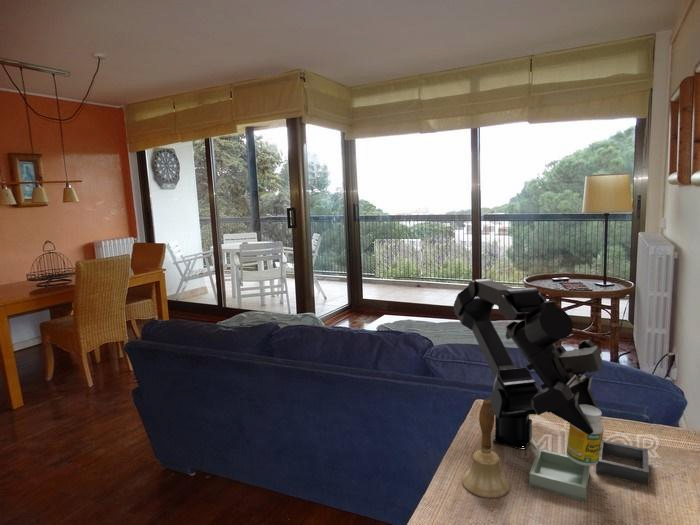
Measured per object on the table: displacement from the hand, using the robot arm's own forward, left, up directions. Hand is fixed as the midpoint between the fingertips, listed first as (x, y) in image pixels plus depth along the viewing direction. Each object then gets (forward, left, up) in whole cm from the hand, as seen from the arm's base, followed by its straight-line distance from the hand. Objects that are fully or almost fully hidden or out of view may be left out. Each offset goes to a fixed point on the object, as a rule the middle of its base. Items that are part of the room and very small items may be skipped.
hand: (595, 426), depth 82 cm
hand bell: (-17, -10, -10) cm, 22 cm away
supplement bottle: (-2, 0, -7) cm, 7 cm away
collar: (+4, +6, -10) cm, 13 cm away
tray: (-5, -3, -10) cm, 12 cm away
